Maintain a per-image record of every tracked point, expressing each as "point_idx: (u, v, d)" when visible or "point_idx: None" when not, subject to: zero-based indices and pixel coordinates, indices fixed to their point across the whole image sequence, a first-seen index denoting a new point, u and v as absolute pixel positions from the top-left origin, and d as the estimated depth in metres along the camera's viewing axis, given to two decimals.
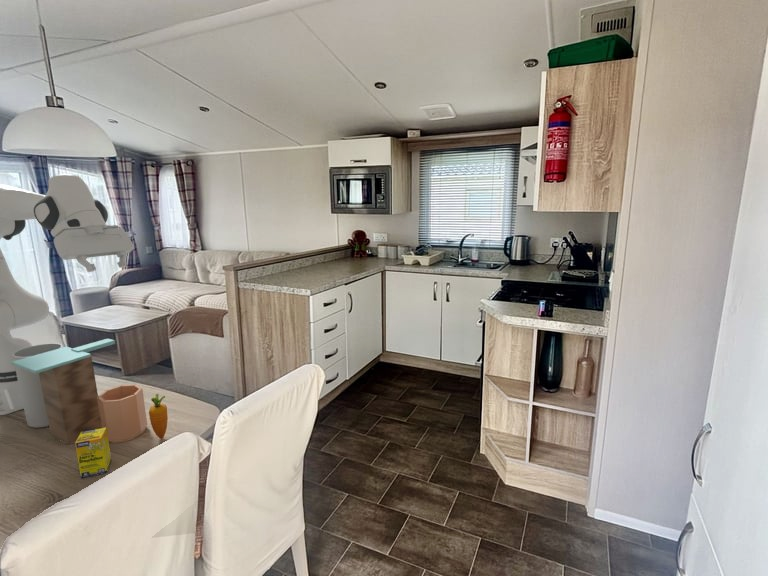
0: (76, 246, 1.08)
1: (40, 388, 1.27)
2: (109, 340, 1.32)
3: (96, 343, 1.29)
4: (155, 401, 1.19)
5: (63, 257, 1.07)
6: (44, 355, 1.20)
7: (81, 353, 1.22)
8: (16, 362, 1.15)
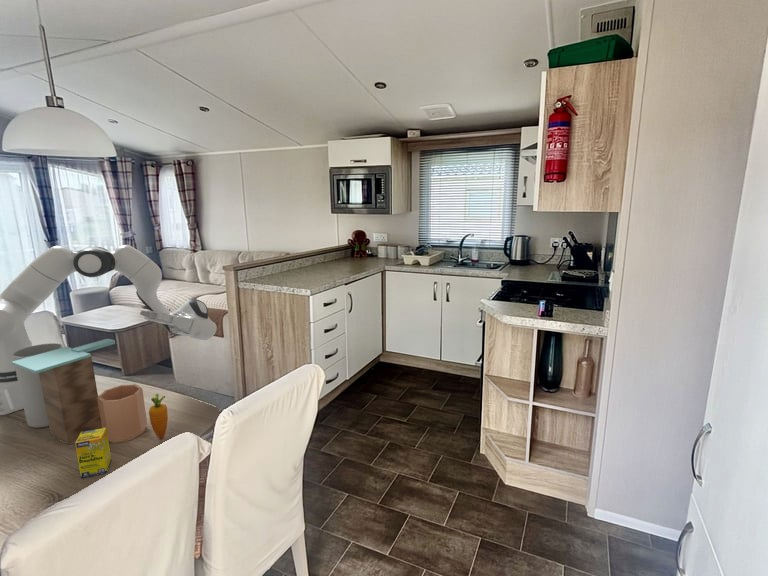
0: None
1: (40, 388, 1.27)
2: (109, 340, 1.32)
3: (96, 343, 1.29)
4: (155, 401, 1.19)
5: (179, 319, 1.45)
6: (44, 355, 1.20)
7: (81, 353, 1.22)
8: (16, 362, 1.15)
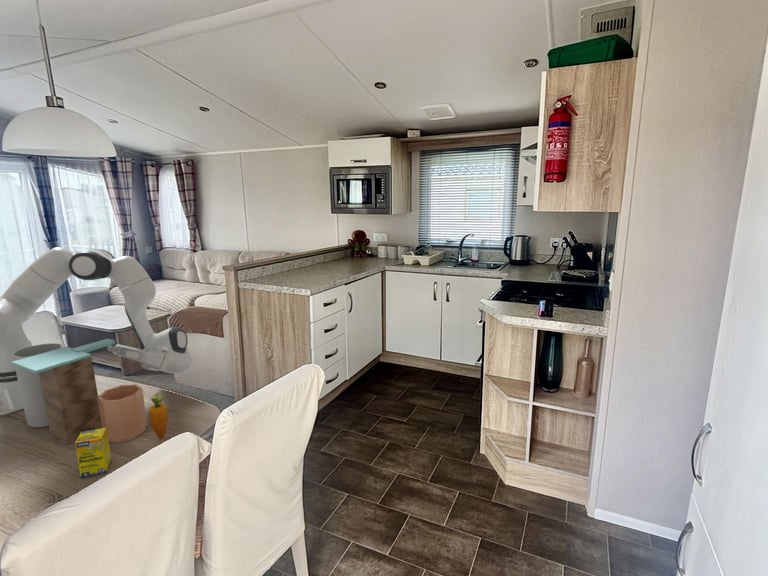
0: None
1: (40, 388, 1.27)
2: (109, 340, 1.32)
3: (96, 343, 1.29)
4: (155, 401, 1.19)
5: (149, 356, 1.36)
6: (44, 355, 1.20)
7: (81, 353, 1.22)
8: (16, 362, 1.15)
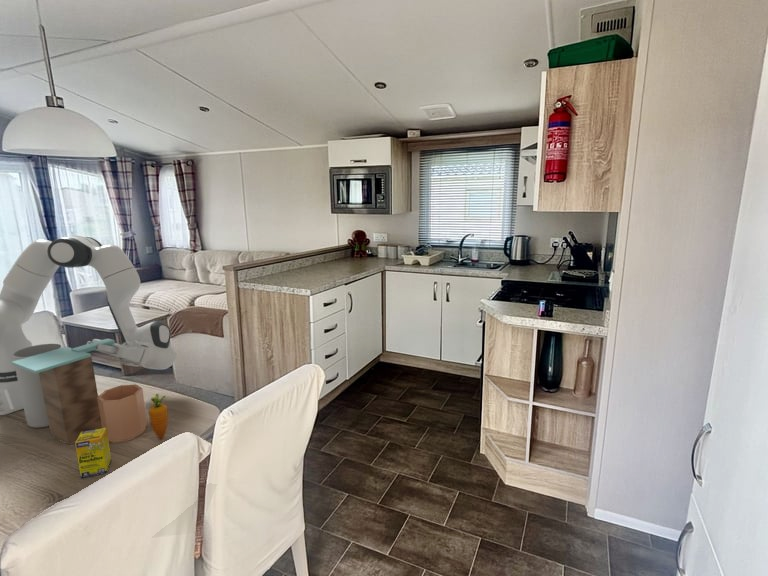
0: None
1: (40, 388, 1.27)
2: (109, 340, 1.32)
3: (96, 343, 1.29)
4: (155, 401, 1.19)
5: (126, 350, 1.29)
6: (44, 355, 1.20)
7: (81, 353, 1.22)
8: (16, 362, 1.15)
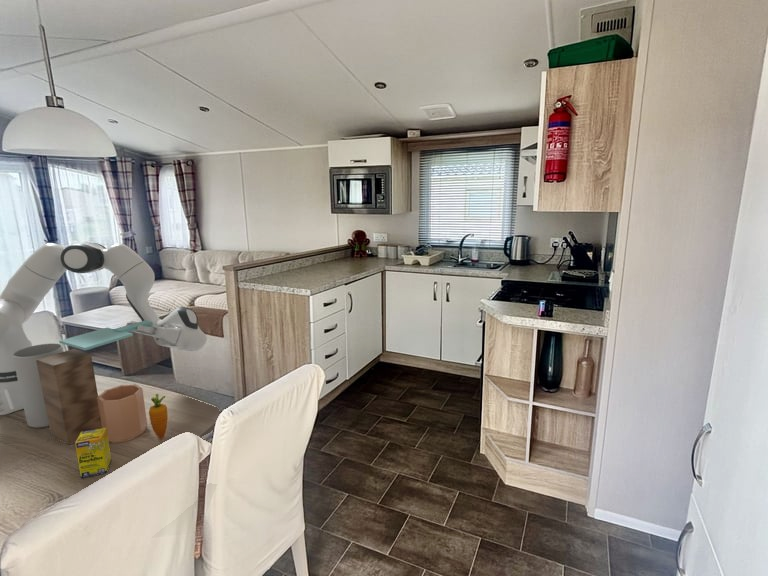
0: None
1: (40, 388, 1.27)
2: (147, 321, 1.38)
3: (135, 324, 1.35)
4: (155, 401, 1.19)
5: (164, 331, 1.34)
6: (88, 335, 1.26)
7: (123, 333, 1.28)
8: (64, 341, 1.21)
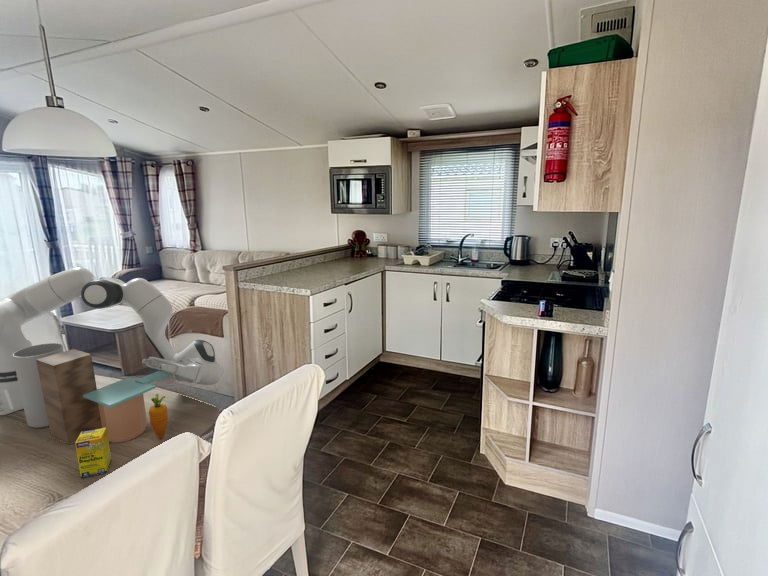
0: None
1: (40, 388, 1.27)
2: None
3: (157, 373, 1.35)
4: (155, 401, 1.19)
5: (184, 369, 1.33)
6: (112, 387, 1.25)
7: (146, 385, 1.27)
8: (88, 395, 1.20)
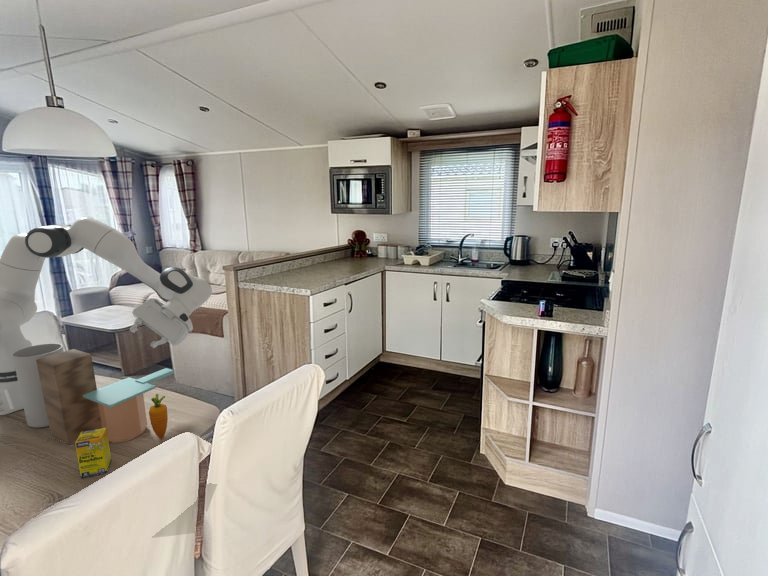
0: None
1: (40, 388, 1.27)
2: (168, 370, 1.37)
3: (157, 373, 1.35)
4: (155, 401, 1.19)
5: (174, 343, 1.37)
6: (112, 387, 1.25)
7: (146, 385, 1.27)
8: (88, 395, 1.20)
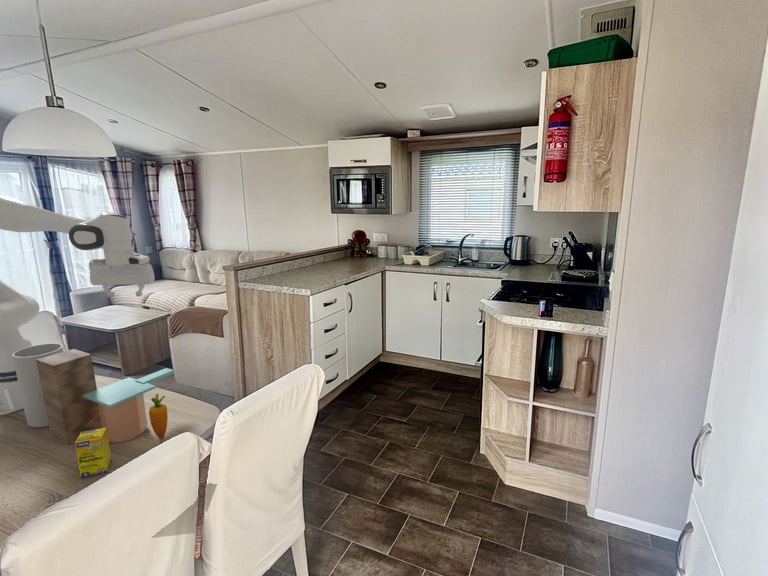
0: None
1: (40, 388, 1.27)
2: (168, 370, 1.37)
3: (157, 373, 1.35)
4: (155, 401, 1.19)
5: (151, 282, 1.43)
6: (112, 387, 1.25)
7: (146, 385, 1.27)
8: (88, 395, 1.20)
